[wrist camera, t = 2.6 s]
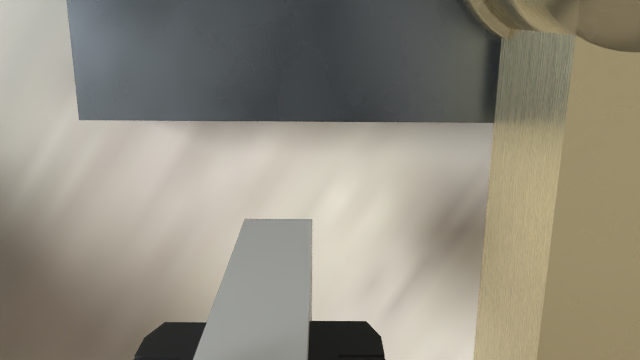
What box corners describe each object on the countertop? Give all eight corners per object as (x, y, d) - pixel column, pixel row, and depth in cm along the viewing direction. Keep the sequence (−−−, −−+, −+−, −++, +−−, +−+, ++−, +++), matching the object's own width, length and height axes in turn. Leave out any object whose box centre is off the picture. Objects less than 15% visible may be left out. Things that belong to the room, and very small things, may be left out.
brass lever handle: (458, -165, 13) (525, -250, 8) (665, -163, 13) (833, -247, 9) (424, 377, 16) (460, 503, 12) (585, 378, 16) (676, 504, 12)
